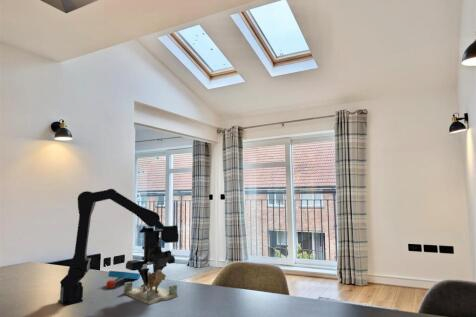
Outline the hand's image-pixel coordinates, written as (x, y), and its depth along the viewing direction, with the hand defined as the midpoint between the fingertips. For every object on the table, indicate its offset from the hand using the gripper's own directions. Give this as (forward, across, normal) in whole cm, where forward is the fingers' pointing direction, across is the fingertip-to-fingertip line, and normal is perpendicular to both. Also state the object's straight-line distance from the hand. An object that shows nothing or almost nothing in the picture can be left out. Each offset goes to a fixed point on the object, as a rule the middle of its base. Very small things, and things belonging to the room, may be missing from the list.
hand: (150, 284), depth 124 cm
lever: (+4, +1, +24) cm, 25 cm away
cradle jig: (+4, 0, 0) cm, 4 cm away
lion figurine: (+3, 0, 0) cm, 3 cm away
